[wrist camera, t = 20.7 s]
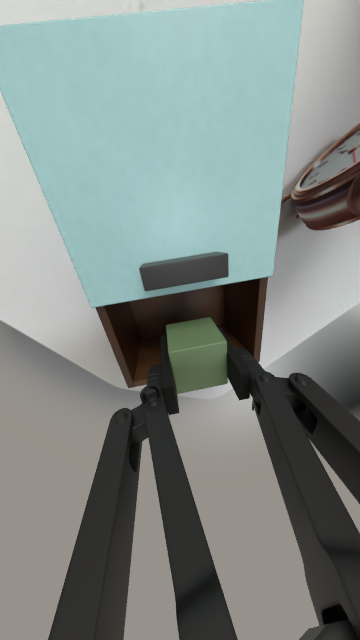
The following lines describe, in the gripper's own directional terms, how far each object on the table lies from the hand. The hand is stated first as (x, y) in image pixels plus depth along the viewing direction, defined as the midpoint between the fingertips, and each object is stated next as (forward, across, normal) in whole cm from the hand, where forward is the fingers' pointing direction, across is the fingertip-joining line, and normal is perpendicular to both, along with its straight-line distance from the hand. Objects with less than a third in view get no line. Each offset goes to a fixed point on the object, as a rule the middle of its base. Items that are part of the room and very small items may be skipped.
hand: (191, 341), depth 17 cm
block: (0, 0, 0) cm, 0 cm away
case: (+10, 0, +2) cm, 10 cm away
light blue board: (0, 0, +13) cm, 13 cm away
